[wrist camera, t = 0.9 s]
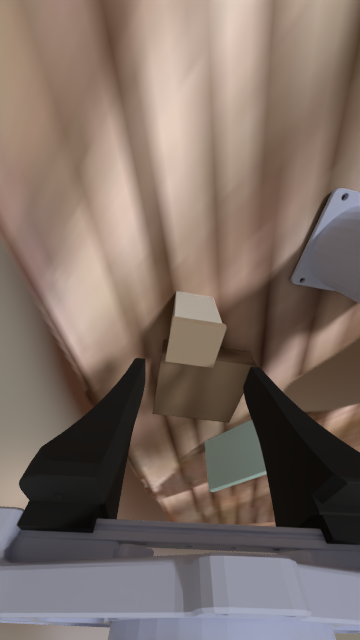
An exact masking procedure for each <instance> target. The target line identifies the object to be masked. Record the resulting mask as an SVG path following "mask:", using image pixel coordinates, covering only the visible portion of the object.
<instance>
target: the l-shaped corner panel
mask: <svg viewBox="0 0 360 640" xmlns="http://www.w3.org/2000/svg"><path fill="white" fill-rule="evenodd" d="M205 453H206V463H207V474H208V484H209V491H211V492H215V491H218V490H221V489H224V488H227V487H230V486H233V485H236V484H239V483H241V482H244V481H247V480H250V479H253V478H256V477H259V476H262V475H265V474H267V473H266V468H265V464H264V459H263V455H262V451H261V447H260V443H259V439H258V436H257V433H256V430H255V427H254V424H253V421H252V420H250V421H248V422H246V423H243V424H241V425H239V426H237V427H235V428H233V429H231V430H228V431H226V432H224V433H222V434H220V435H218V436H216V437H214V438H211V439H209V440H207V441H205Z"/></svg>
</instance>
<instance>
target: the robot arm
mask: <svg viewBox="0 0 360 640" xmlns="http://www.w3.org/2000/svg"><path fill="white" fill-rule="evenodd" d="M343 194H345V198H344V199H343V200H342V199H341V198H342V195H343ZM301 278H303V280H302V281H301V282H300V279H301ZM291 282H292V283H293V284H297V285H302V286H308V287H314V288H319V289H325V290H331V291H337V292H339V293H341V294H343V295H344V296H346V297H348V298H350V299H352V300H354V301H356V302H358V303H359V304H360V192H358V191H353V190H348V189H344V188H338V189H335V190H334V191H333V192H332V193H331V195H330V197H329V199H328V201H327V203H326V205H325V207H324V209H323V212H322V214H321V216H320V218H319V220H318V222H317V224H316V226H315V228H314V231H313V233H312V235H311V237H310V239H309V241H308V243H307V245H306V247H305V249H304V252H303V254H302V256H301V258H300V260H299V262H298V264H297V266H296V268H295V271H294V273H293V275H292V277H291ZM144 386H145V359H141V358H136V359H135V360H134V361H133V363H132V364H131V366H130V367H129V369H128V370H127V371H126V373H125V374H124V375H123V377H122V378H121V379H120V380H119V382H118V383H117V384H116V385H115V386H114V387H113V389H112V390H111V391H110V392H109V393H108V394H107V395H106V396H105V397H104V398H103V399H102V400H101V401H100V402H99V403H98V404H97V405H96V406H95V407H94V408H93V409H91V410H90V411H89V412H88V413H87V414H86V415H85V416H83V417H82V418H81V419H80V420H78V421H77V422H76V423H75V424H73V425H72V426H71V427H69V428H68V429H67V430H65V431H64V432H63V433H61V434H60V435H58V436H57V437H55V438H54V439H53V440H51V441H49V442H48V443H47V444H45V445H44V446H42V447H41V448H40V450H39V451H38V453H37V454H36V455H35V457H34V458H33V460H32V461H31V463H30V464H29V466H28V468H27V469H26V471H25V473H24V474H23V476H22V478H21V479H20V482H19V486H20V488H21V490H22V491H23V493H24V494H25V495H26V496H27V498H28V499H29V500H30V501H29V502H28V505H27V506H26V508H25V510H24V509H21V508H16V507H0V623H22V624H44V625H47V624H48V625H68V626H90V627H110V631H109V637H108V640H336V638H335V635H334V633H360V452H358V451H356V450H355V449H353V448H352V447H350V446H349V445H347V444H346V443H344V442H343V441H341V440H340V439H338V438H337V437H336V436H334V435H333V434H331V433H330V432H329V431H327V430H326V429H325V428H323V427H322V426H321V425H319V424H318V423H317V422H316V421H314V420H313V419H312V418H311V417H309V416H308V415H307V414H306V413H305V412H303V411H302V410H301V409H300V408H299V407H298V406H297V405H296V404H295V403H294V402H292V401H291V400H290V399H289V398H288V397H287V396H286V395H285V394H284V393H283V392H282V391H281V390H280V389H279V388H278V387H277V386H276V385H275V384H274V382H273V381H272V380H271V379H270V378H269V377H268V376H267V375H266V374H265V373H264V372H263V371H262V370H261V369H260V368H259V367H250V370H249V372H248V375H247V378H246V380H245V383H244V386H243V390H244V396H245V400H246V404H247V407H248V410H249V413H250V416H251V419H252V421H253V424H254V427H255V430H256V433H257V436H258V439H259V443H260V447H261V451H262V455H263V459H264V464H265V468H266V473H267V477H268V483H269V488H270V493H271V498H272V504H273V510H274V516H275V523H276V527H269V526H248V525H227V524H205V523H184V522H162V521H141V520H139V521H138V520H119V519H117V513H118V507H119V501H120V496H121V489H122V484H123V478H124V473H125V467H126V462H127V456H128V451H129V446H130V441H131V436H132V432H133V427H134V424H135V421H136V417H137V414H138V410H139V407H140V403H141V400H142V396H143V391H144ZM146 547H153V548H176V549H200V550H222V551H223V550H224V551H246V552H270V553H277V554H254V553H229V552H210V553H205V554H194V555H193V554H191V555H170V556H153V554H154V551H153V550H152V549H151V548H146Z"/></svg>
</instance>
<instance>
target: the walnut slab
mask: <svg viewBox="0 0 360 640" xmlns="http://www.w3.org/2000/svg"><path fill="white" fill-rule="evenodd" d="M167 347H168V340H164V342H163V349H162V355H161V362H160V368H159V375H158V381H157V388H156V395H155V401H154V408H153V414H160V415H168V416H177V417H186V418H194V419H203V420H211V421H220V422H229V421H230V419H231V417H232V415H233V413H234V411H235V409H236V407H237V405H238V403H239V401H240V399H241V397H242V395H243V393H244V390H243V386H244V383H245V380H246V378H247V375H248V372H249V370H250V367H257V366H256V364H255V361H254V359H253V357H252V355H251V353H250V352H246V351H239V350H232V349H225V348H220V349H219V352H218V355H217V358H216V360H215V363H214V366H213V368H210V367H203V366H195V365H188V364H181V363H173V362H166V361H165V360H166V353H167Z"/></svg>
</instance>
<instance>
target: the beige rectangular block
mask: <svg viewBox="0 0 360 640" xmlns="http://www.w3.org/2000/svg"><path fill="white" fill-rule="evenodd" d="M226 329H227V327H226V325H225V324H222V321H221V318H220V315H219V312H218V310H217V307H216V304H215V301H214V298H213V297H208V296H202V295H196V294H190V293H184V292H178V291H176V297H175V302H174V308H173V314H172V320H171V328H170V336H169V341H168V347H167V353H166V360H165V361H166V362H173V363H181V364H188V365H195V366H203V367H210V368H213V366H214V363H215V360H216V358H217V355H218V352H219V349H220V346H221V343H222V340H223V337H224V335H225V332H226Z"/></svg>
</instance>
